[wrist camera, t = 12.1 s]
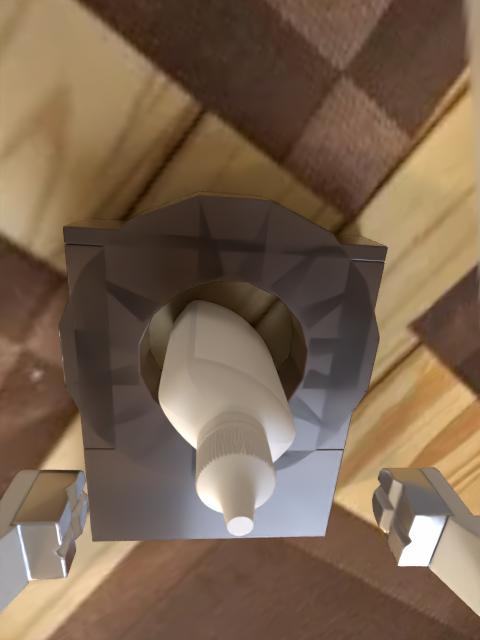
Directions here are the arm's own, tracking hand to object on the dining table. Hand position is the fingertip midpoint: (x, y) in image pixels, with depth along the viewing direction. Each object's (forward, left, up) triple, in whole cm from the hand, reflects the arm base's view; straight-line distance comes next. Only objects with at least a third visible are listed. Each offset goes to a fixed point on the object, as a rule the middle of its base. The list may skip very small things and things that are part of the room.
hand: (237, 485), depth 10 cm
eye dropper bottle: (+1, 0, -11) cm, 11 cm away
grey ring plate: (+4, 0, -11) cm, 12 cm away
